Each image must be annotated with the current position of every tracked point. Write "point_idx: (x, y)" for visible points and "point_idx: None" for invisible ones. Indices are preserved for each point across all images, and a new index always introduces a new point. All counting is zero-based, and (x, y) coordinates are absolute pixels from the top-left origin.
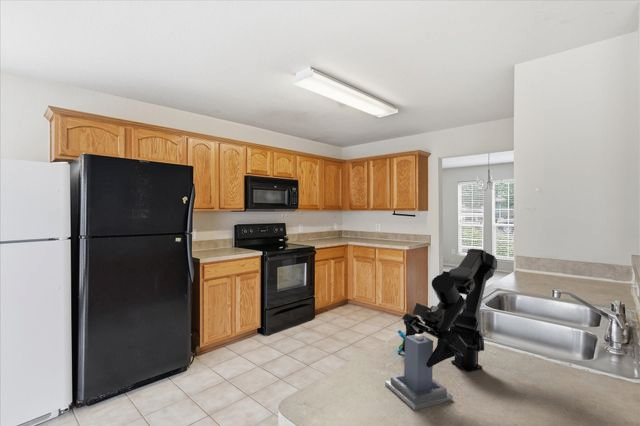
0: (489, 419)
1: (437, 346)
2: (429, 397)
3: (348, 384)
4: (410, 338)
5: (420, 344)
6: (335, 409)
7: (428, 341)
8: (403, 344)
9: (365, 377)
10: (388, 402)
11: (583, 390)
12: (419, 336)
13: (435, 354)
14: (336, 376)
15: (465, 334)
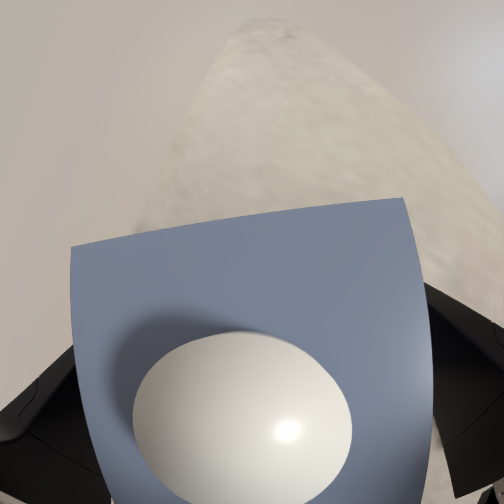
0: None
1: (16, 433)
2: None
3: (363, 121)
4: (295, 240)
5: (83, 298)
6: (250, 68)
7: (102, 462)
8: (436, 294)
9: (403, 187)
10: (238, 190)
11: None
12: (182, 416)
13: (39, 379)
14: (406, 113)
15: None
